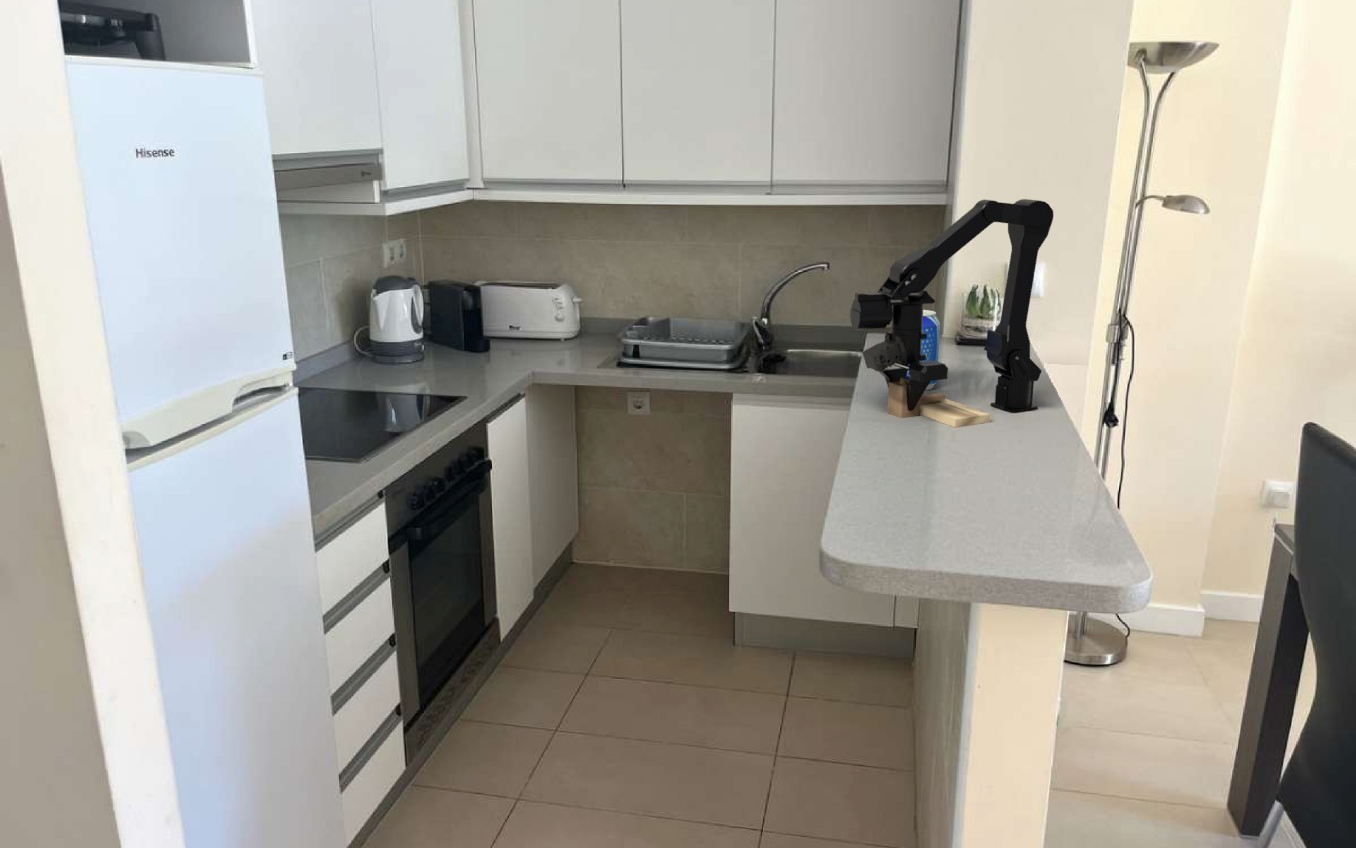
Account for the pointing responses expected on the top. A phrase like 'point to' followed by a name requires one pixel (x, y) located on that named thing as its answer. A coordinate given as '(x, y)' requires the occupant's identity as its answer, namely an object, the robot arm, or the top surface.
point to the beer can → (930, 339)
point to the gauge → (899, 400)
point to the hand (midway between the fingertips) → (903, 407)
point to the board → (953, 413)
